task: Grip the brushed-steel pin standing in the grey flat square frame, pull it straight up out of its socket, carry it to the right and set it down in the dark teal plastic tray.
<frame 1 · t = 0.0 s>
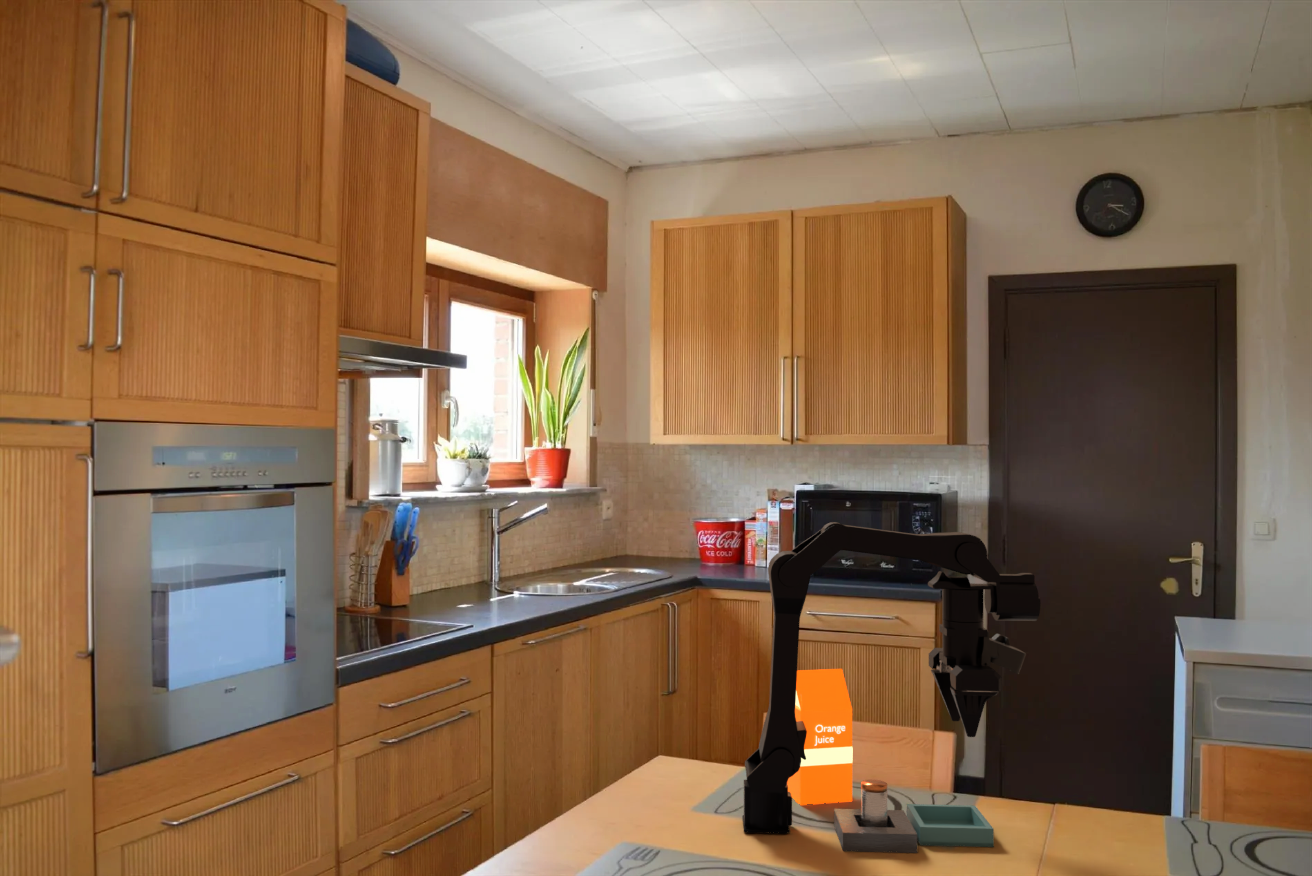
hand: (963, 728, 150), 15 cm above the table, fingers open, 9 cm apart
pin: (874, 811, 147), in the grey flat square frame
grey flat square frame: (874, 839, 146), on the table
tray: (948, 833, 149), on the table
orange juice: (817, 797, 166), on the table
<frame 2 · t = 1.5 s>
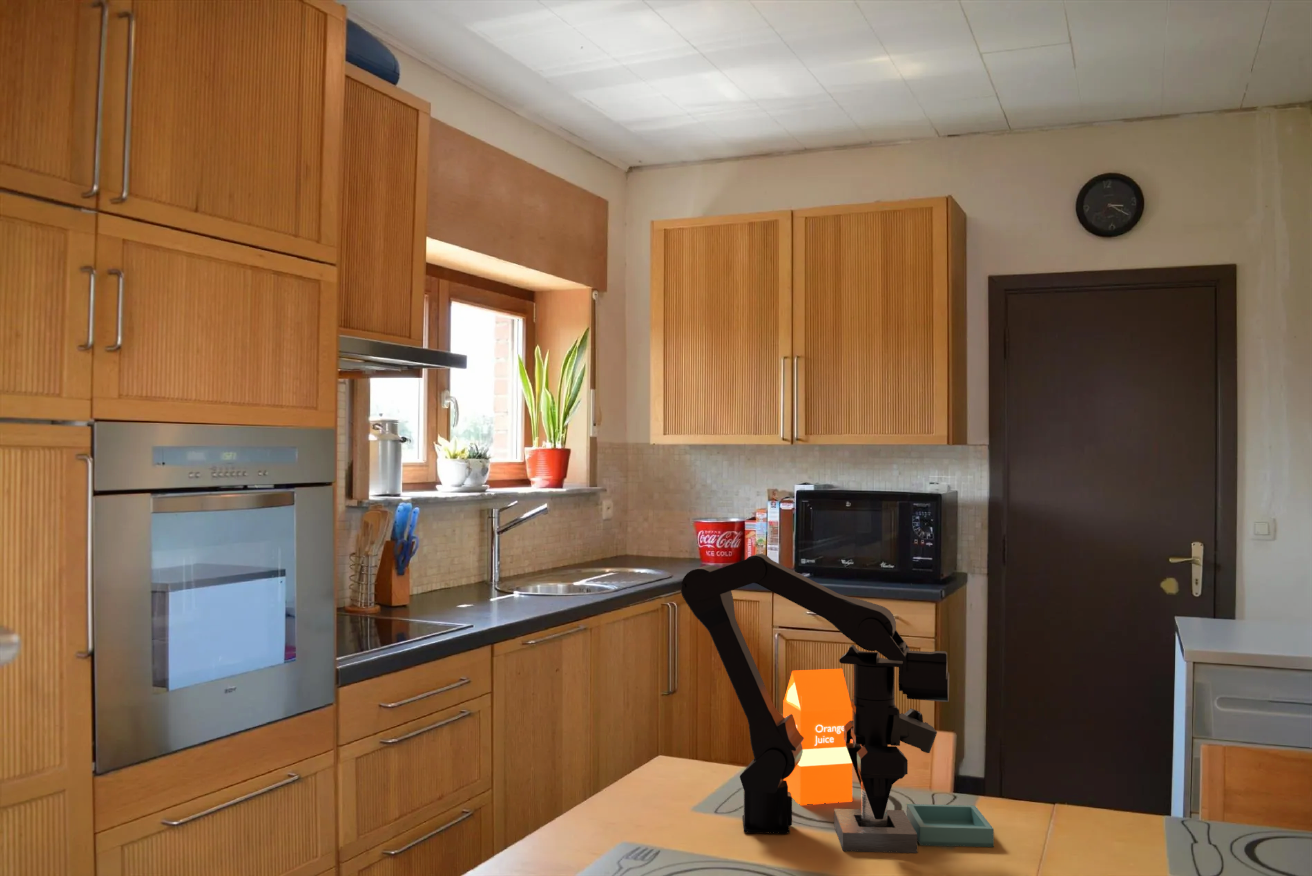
hand: (873, 808, 147), 4 cm above the table, fingers open, 9 cm apart
nothing on the table moved.
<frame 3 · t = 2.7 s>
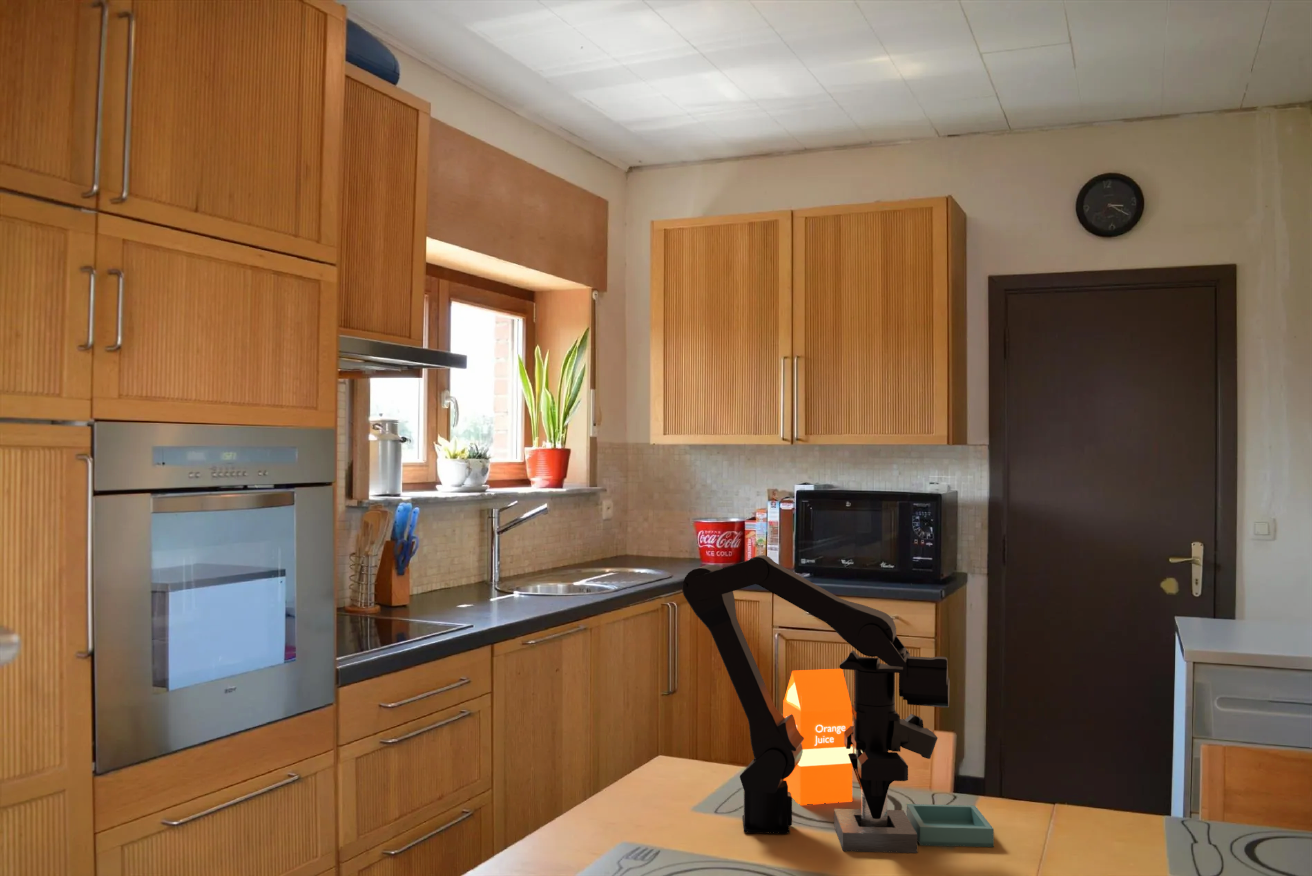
hand: (874, 813, 147), 4 cm above the table, fingers closed on pin, 4 cm apart
pin: (874, 811, 147), in the grey flat square frame, touching gripper
everything else where it was.
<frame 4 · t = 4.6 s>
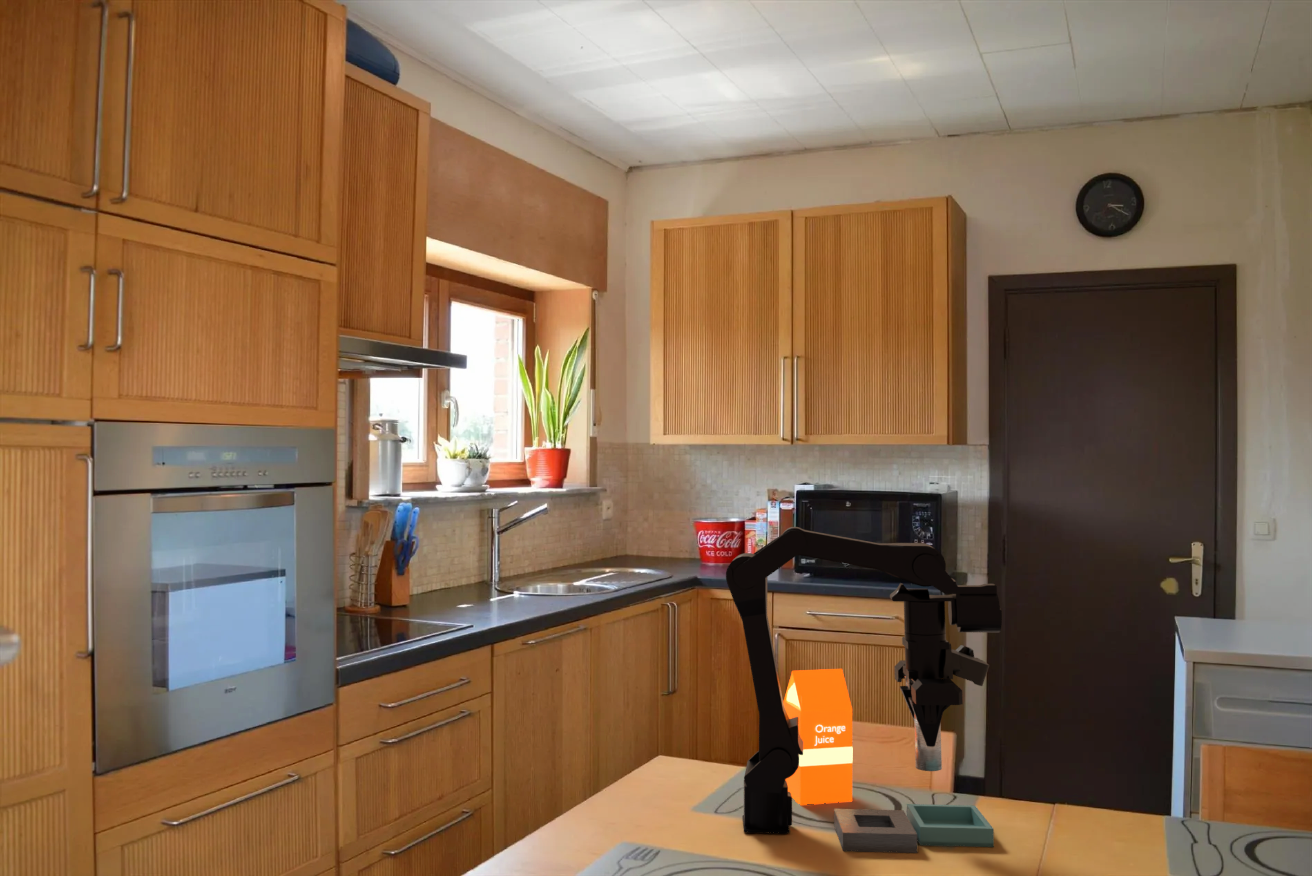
hand: (928, 742, 148), 13 cm above the table, fingers closed on pin, 4 cm apart
pin: (927, 740, 148), point 14 cm above the table, touching gripper
everything else where it was.
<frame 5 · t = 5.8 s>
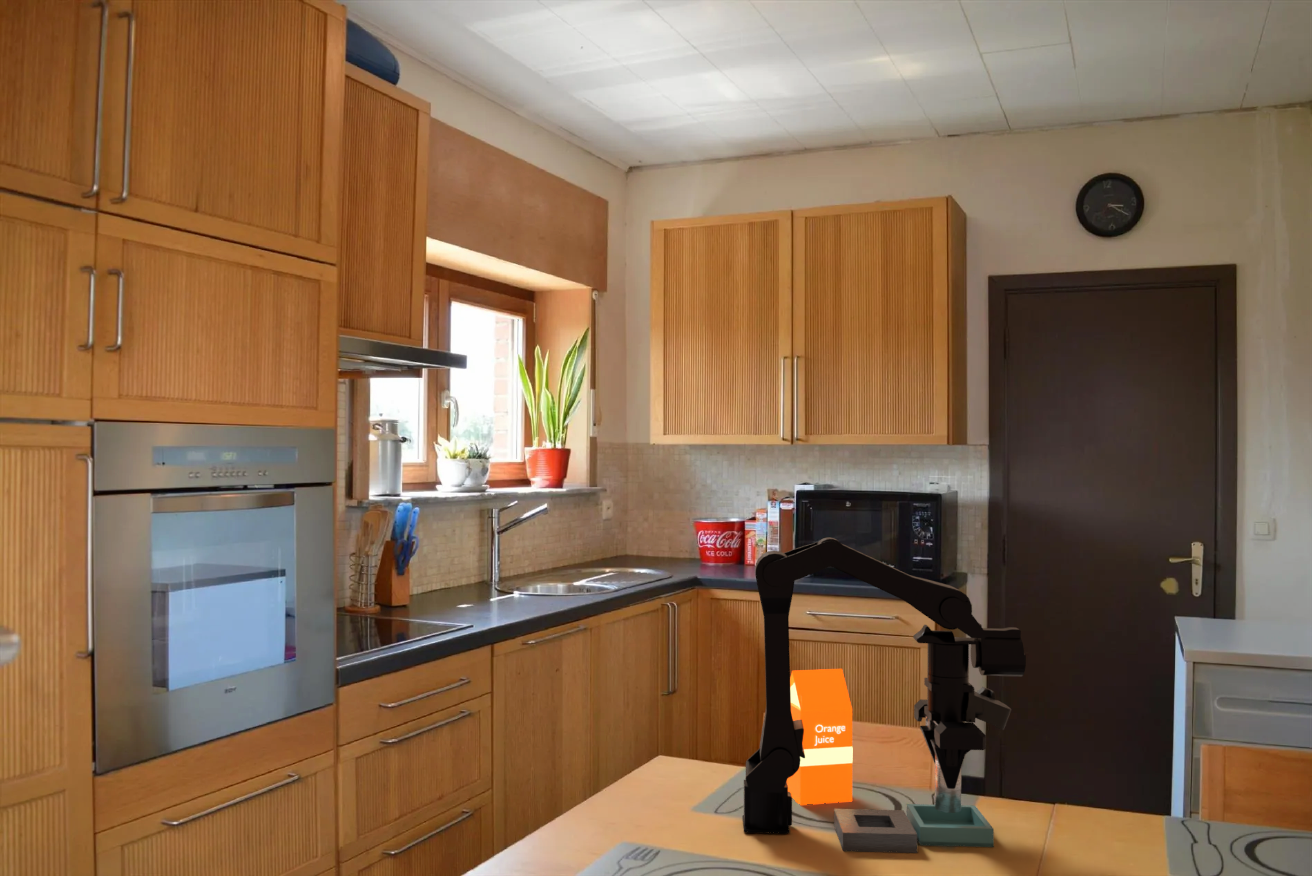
hand: (947, 784, 149), 7 cm above the table, fingers closed on pin, 4 cm apart
pin: (948, 781, 149), point 7 cm above the table, touching gripper
everything else where it was.
when the fingers open (5 cm above the table, at t = 6.8 s): pin drops 1 cm, resting on tray.
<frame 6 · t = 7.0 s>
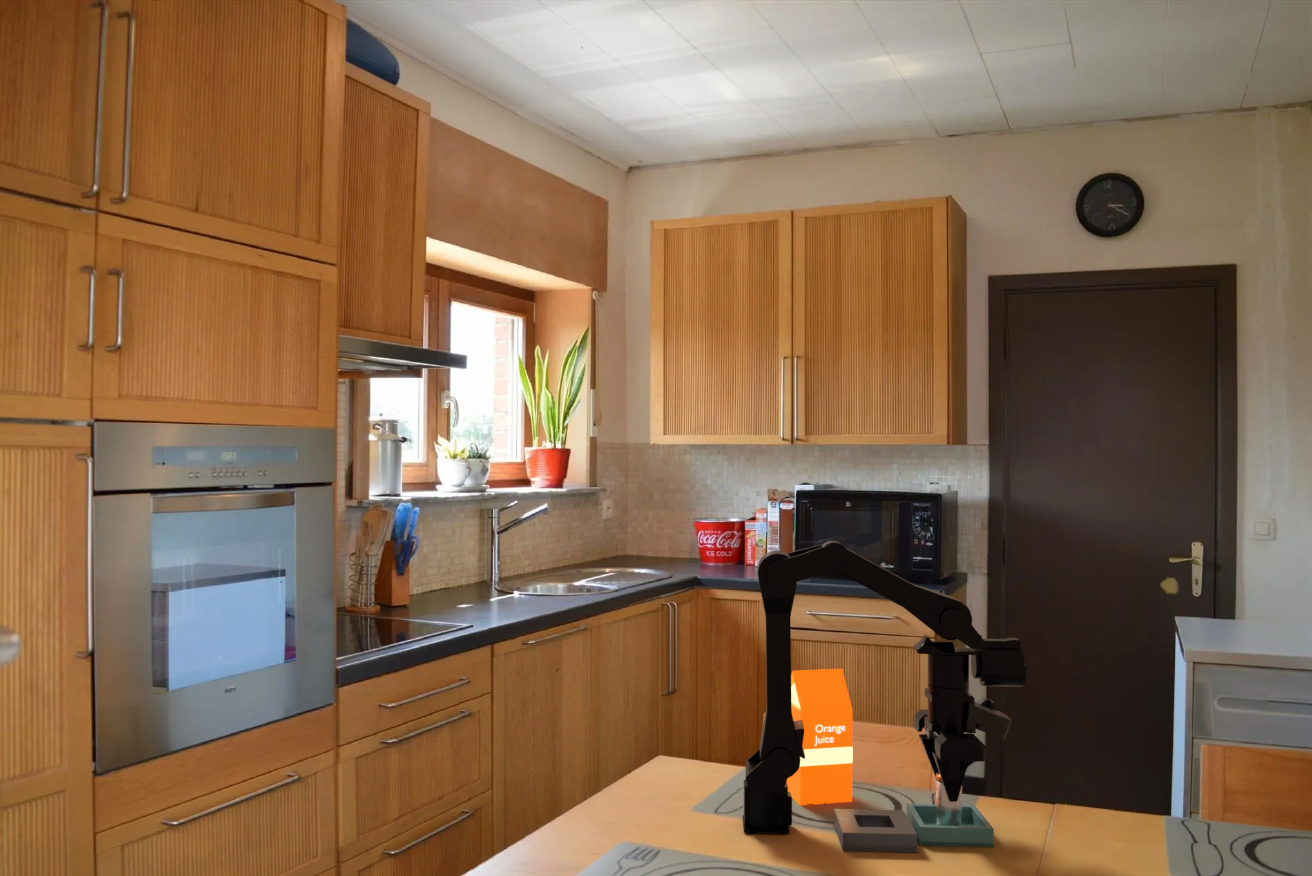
hand: (948, 794, 149), 5 cm above the table, fingers open, 6 cm apart
pin: (948, 802, 149), in the tray
everything else where it was.
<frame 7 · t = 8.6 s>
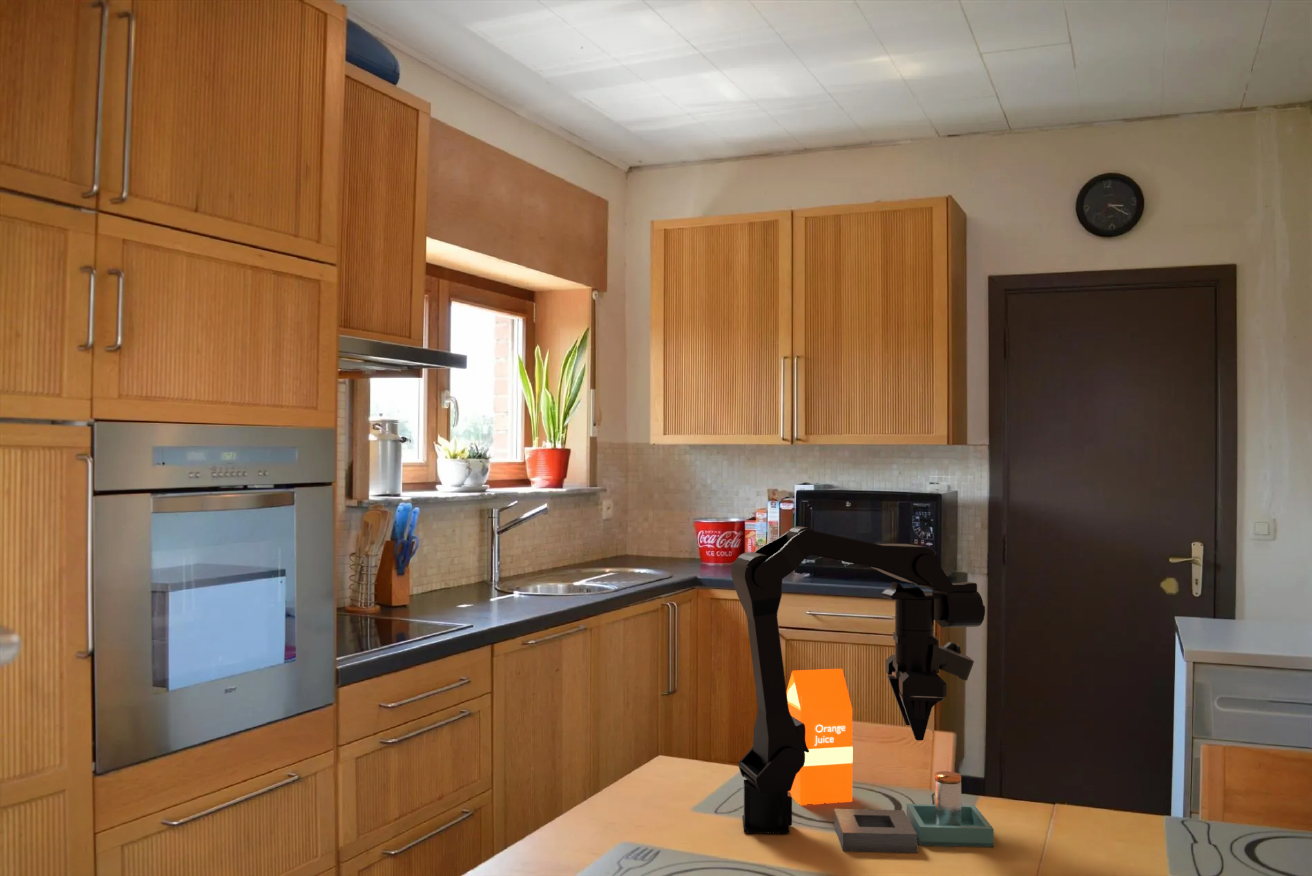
hand: (914, 732, 157), 12 cm above the table, fingers open, 9 cm apart
nothing on the table moved.
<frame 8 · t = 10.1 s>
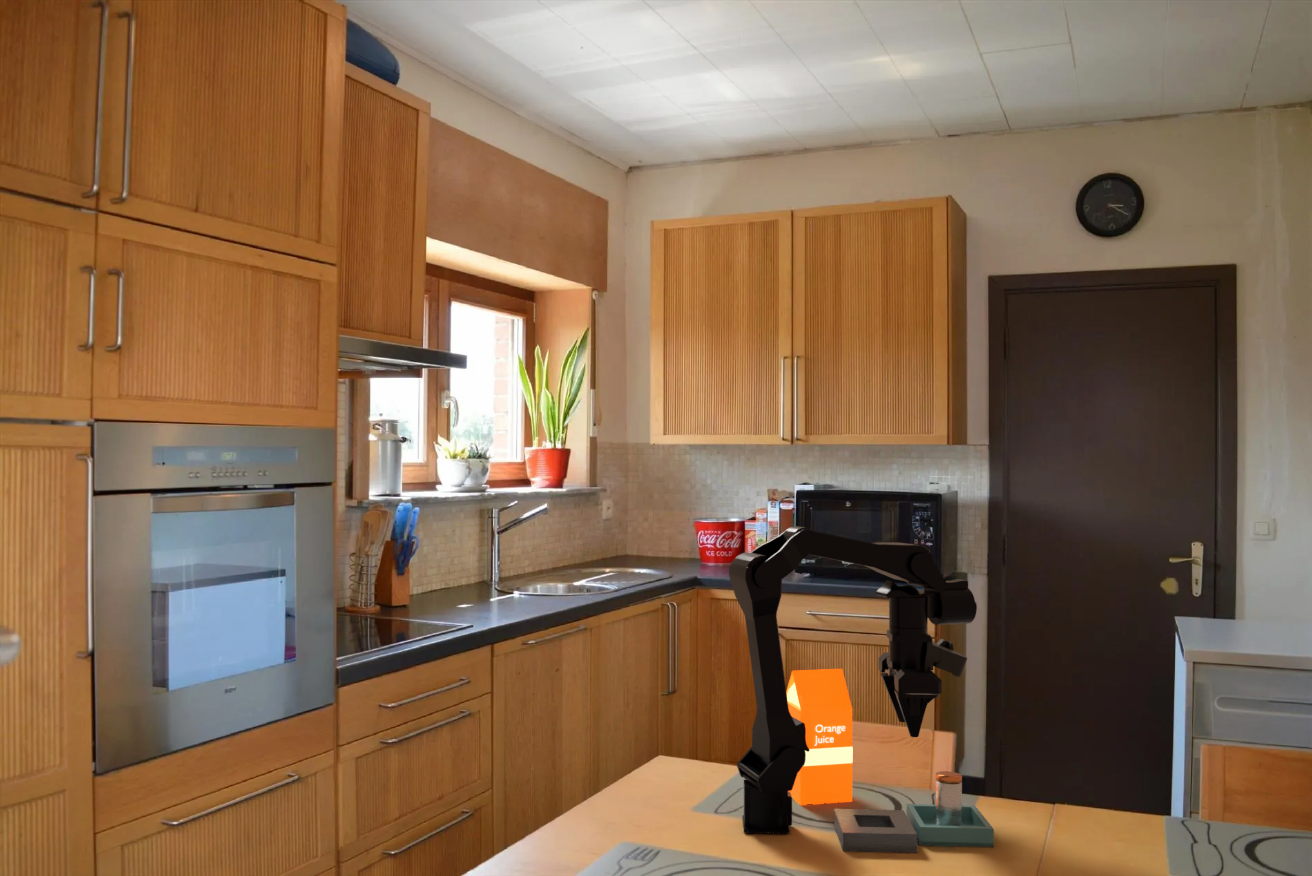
hand: (908, 729, 158), 13 cm above the table, fingers open, 9 cm apart
nothing on the table moved.
at the end: pin inside the target area on the tray (0.0 cm from its centre), point 4.4 cm above the tray's base; pin touching tray; the gripper is holding nothing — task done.
